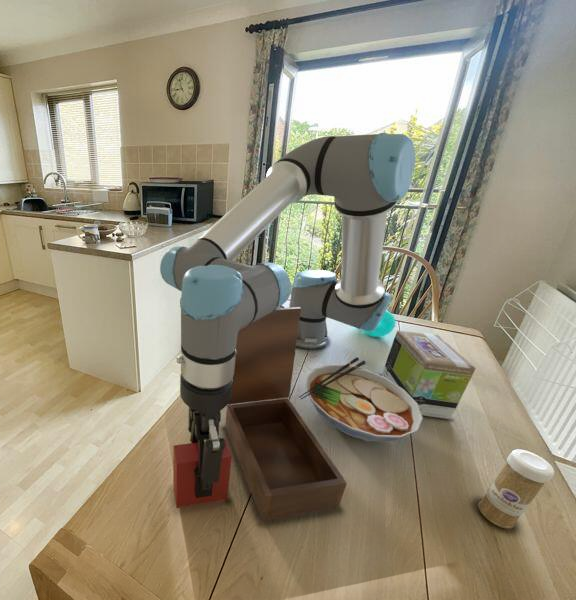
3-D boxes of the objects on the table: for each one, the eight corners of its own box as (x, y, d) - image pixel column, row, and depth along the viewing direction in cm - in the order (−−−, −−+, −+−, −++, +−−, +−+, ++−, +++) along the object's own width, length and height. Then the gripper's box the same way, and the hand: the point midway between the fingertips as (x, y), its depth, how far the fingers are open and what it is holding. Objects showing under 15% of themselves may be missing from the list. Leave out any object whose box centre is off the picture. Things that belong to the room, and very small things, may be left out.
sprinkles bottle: (477, 517, 52) (513, 462, 47) (476, 496, 56) (510, 443, 50) (515, 536, 50) (558, 480, 44) (512, 513, 53) (552, 459, 47)
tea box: (452, 420, 72) (478, 368, 66) (404, 414, 74) (425, 362, 67) (419, 379, 85) (439, 333, 79) (379, 374, 87) (395, 328, 81)
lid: (301, 308, 61) (299, 306, 62) (232, 313, 59) (231, 311, 60) (289, 397, 68) (287, 395, 69) (227, 404, 66) (226, 402, 67)
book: (173, 488, 56) (173, 445, 51) (221, 481, 57) (225, 438, 53) (176, 508, 53) (176, 463, 48) (227, 500, 54) (232, 456, 50)
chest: (337, 510, 53) (347, 483, 50) (260, 523, 51) (266, 496, 48) (283, 421, 71) (287, 398, 68) (224, 429, 69) (227, 405, 66)
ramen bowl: (373, 487, 57) (385, 456, 54) (276, 410, 75) (281, 382, 71) (433, 430, 69) (446, 402, 66) (337, 375, 87) (344, 350, 83)
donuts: (381, 326, 112) (389, 301, 108) (392, 340, 104) (401, 313, 99) (351, 322, 115) (358, 298, 110) (359, 336, 106) (367, 310, 102)
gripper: (172, 344, 51) (172, 446, 61) (192, 421, 36) (188, 539, 46) (216, 341, 52) (209, 441, 62) (253, 414, 37) (237, 530, 47)
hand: (200, 482), depth 54 cm, fingers closed on book, 3 cm apart
